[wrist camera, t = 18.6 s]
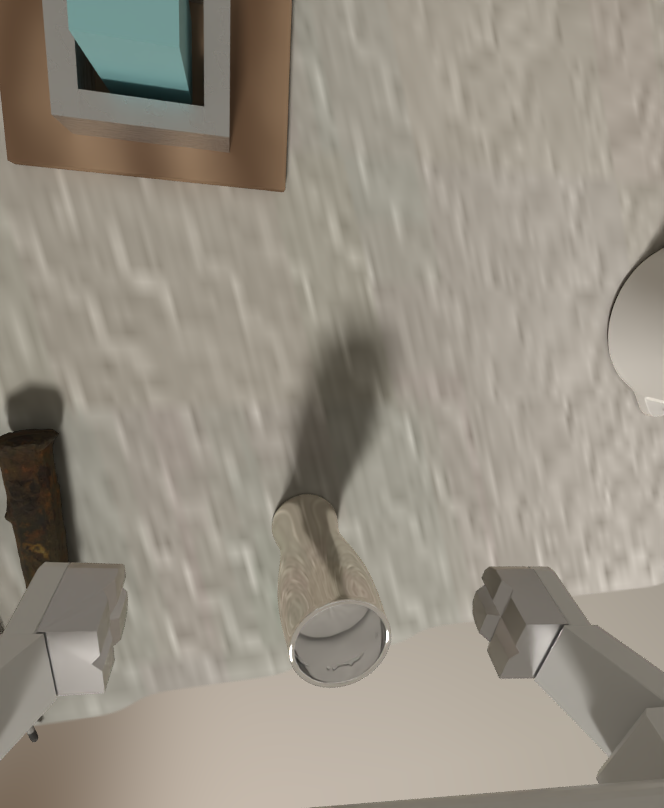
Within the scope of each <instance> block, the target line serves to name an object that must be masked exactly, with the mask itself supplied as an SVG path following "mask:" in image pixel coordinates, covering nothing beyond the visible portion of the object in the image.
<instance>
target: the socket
mask: <svg viewBox="0 0 664 808" xmlns="http://www.w3.org/2000/svg"><path fill="white" fill-rule="evenodd" d="M189 2H193V3H198V4H203V5H204V106H197V105H190V104H182V103H175V102H168V101H161V100H154V99H147V98H139V97H132V96H125V95H118V94H111V93H103V92H96V91H95V80H94V67H93V66H92V64H91V63H90V61H89V60H88V58H87V57H86V55H85V54H84V52H83V51H82V49H81V48H80V46H79V45H78V43H77V42H76V40H75V38H74V37H73V35H72V34H71V32H70V31H69V27H68V12H67V0H42V6H43V18H44V31H45V43H46V55H47V68H48V80H49V93H50V105H51V115H52V116H53V117H54V118H56V119H57V120H58V121H59V122H60V123H61V124H62V125H63V126H65V127H66V128H67V129H68V130H69V131H70V132H71V133H73V134H78V135H86V136H95V137H103V138H111V139H120V140H128V141H137V142H145V143H153V144H162V145H170V146H178V147H187V148H195V149H203V150H212V151H220V152H228V153H229V128H230V0H189Z"/></svg>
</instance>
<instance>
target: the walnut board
mask: <svg viewBox="0 0 664 808" xmlns="http://www.w3.org/2000/svg"><path fill="white" fill-rule="evenodd" d="M189 6H190V13H191V20H192V105H197V106H204V5H203V4H198V3H193V2H189ZM291 9H292V0H230V128H229V153H228V152H220V151H212V150H203V149H195V148H187V147H178V146H170V145H162V144H153V143H145V142H137V141H128V140H120V139H111V138H103V137H95V136H86V135H78V134H73V133H71V132H70V131H69V130H68V129H67V128H66V127H65V126H63V125H62V124H61V123H60V122H59V121H58V120H57V119H56V118H54V117H53V116H52V115H51V105H50V93H49V80H48V68H47V55H46V43H45V31H44V18H43V6H42V0H0V92H1V101H2V111H3V120H4V130H5V140H6V149H7V159H8V161H10V162H12V163H14V164H19V165H29V166H38V167H48V168H57V169H67V170H76V171H86V172H96V173H105V174H115V175H124V176H134V177H143V178H153V179H162V180H172V181H182V182H191V183H201V184H210V185H220V186H229V187H239V188H249V189H258V190H268V191H277V192H284V190H285V180H286V152H287V123H288V95H289V66H290V38H291ZM94 80H95V91H96V92H103V93H110V92H109V90H108V88H107V87H106V85H105V84H104V82H103V81H102V79H101V78H100V76H99V75H98V73H97V72H96V70H95V69H94Z"/></svg>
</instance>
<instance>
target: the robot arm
mask: <svg viewBox="0 0 664 808" xmlns="http://www.w3.org/2000/svg"><path fill="white" fill-rule="evenodd" d="M608 346H609V352H610V357H611V360H612V363H613V366H614V368H615V370H616V372H617V373H618V375H619V376H620V378H621V379H622V380H623V381H624V382H625V383H626V384H627V385H628V386H629V387H630V388H631V389H632V390H633V391H634V393H635V395H636V398H637V401H638V405H639V407H640V409H641V411H642V412H643V413H644V414H645V415H649V416H654V417H659V416H663V415H664V248H662V249H661V250H659V251H657V252H656V253H654V254H653V255H651V256H650V257H649V258H647V259H646V260H645V261H644V262H642V263H641V264H640V265H639V266H638V267H637V268H636V269H635V271H634V272H633V273H632V274H631V275H630V277H629V278H628V279H627V281H626V282H625V284H624V285H623V287H622V289H621V291H620V293H619V295H618V297H617V299H616V301H615V304H614V307H613V310H612V313H611V317H610V322H609V330H608ZM125 578H126V572H125V565H123V564H105V563H75V562H72V563H62V562H44V563H43V564H42V565H41V566H40V567H39V568H38V569H37V571H36V573H35V575H34V577H33V579H32V580H31V582H30V584H29V586H28V588H27V590H26V591H25V593H24V595H23V597H22V599H21V600H20V602H19V604H18V606H17V608H16V610H15V611H14V613H13V615H12V617H11V619H10V620H9V622H8V624H7V626H6V628H5V630H4V631H3V633H2V634H0V760H1V759H2V758H3V757H4V756H5V755H6V754H7V753H8V752H9V751H10V750H11V748H12V747H13V746H14V745H15V744H16V743H17V742H18V741H19V740H20V739H21V738H22V736H23V735H24V734H25V733H26V732H27V731H28V730H29V729H30V728H31V727H32V726H33V725H34V723H35V722H36V721H37V720H38V719H39V718H40V717H41V716H42V715H43V714H44V713H45V711H46V710H47V709H48V708H49V707H50V706H51V705H52V704H53V703H54V702H55V701H56V700H57V696H65V695H80V694H96V693H105V691H106V687H107V684H108V681H109V677H110V674H111V671H112V667H113V664H114V661H115V657H114V647H113V646H114V645H115V644H116V643H117V642H118V641H120V640H121V637H122V634H123V630H124V627H125V621H126V615H127V606H128V595H127V591H126V590H125V589H124V588H123V584H124V581H125ZM482 580H483V582H484V584H485V585H484V586H482V587H481V588H480V589H478V590H477V591H476V593H475V596H474V599H473V617H474V621H475V624H476V626H477V629H478V631H479V633H480V634H481V635H483V636H484V637H485V638H486V639H487V640H488V641H489V645H488V649H487V651H488V653H489V656H490V658H491V661H492V663H493V665H494V667H495V670H496V672H497V674H498V676H499V678H535V680H534V681H535V682H536V683H537V684H538V685H539V686H540V687H541V688H542V689H543V690H544V691H545V692H546V693H547V694H548V695H549V696H550V697H551V698H552V699H553V700H554V701H555V702H556V703H557V704H558V705H559V706H560V707H561V708H562V709H563V711H565V713H566V714H567V715H568V716H569V717H571V719H572V720H574V722H575V723H576V724H577V725H578V726H579V727H580V728H581V729H582V730H583V731H584V732H585V733H586V734H587V735H588V736H589V737H590V738H591V739H592V740H593V741H594V742H595V743H596V744H597V745H598V746H599V747H600V748H601V749H602V750H603V751H604V752H605V753H606V754H607V755H608V757H609V758H608V760H607V761H606V762H605V763H604V765H603V766H602V767H601V769H600V770H599V771H598V774H597V777H596V779H597V781H598V783H599V784H594V785H582V786H569V787H558V788H546V789H532V790H520V791H508V792H496V793H483V794H471V795H459V796H447V797H434V798H423V799H411V800H398V801H385V802H373V803H361V804H349V805H337V806H325V807H312V808H664V672H663V671H661V670H660V669H659V668H657V667H656V666H654V665H653V664H652V663H650V662H649V661H647V660H646V659H644V658H643V657H642V656H640V655H639V654H637V653H636V652H634V651H633V650H632V649H630V648H629V647H628V646H626V645H625V644H623V643H622V642H620V641H619V640H618V639H616V638H615V637H613V636H612V635H610V634H609V633H608V632H606V631H605V630H603V629H602V628H600V627H599V626H598V625H591V624H590V623H589V621H588V620H587V618H586V617H585V615H584V614H583V612H582V611H581V610H580V608H579V607H578V605H577V604H576V602H575V601H574V600H573V598H572V597H571V595H570V594H569V592H568V591H567V589H566V588H565V586H564V585H563V583H562V582H561V581H560V579H559V578H558V576H557V575H556V573H555V572H554V571H553V570H552V569H551V568H549V567H525V566H504V567H488V568H487V569H486V570H485V571H484V573H483V576H482Z"/></svg>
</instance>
